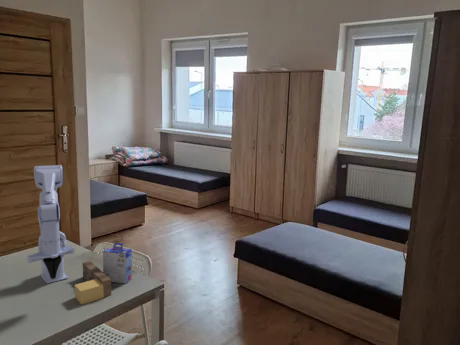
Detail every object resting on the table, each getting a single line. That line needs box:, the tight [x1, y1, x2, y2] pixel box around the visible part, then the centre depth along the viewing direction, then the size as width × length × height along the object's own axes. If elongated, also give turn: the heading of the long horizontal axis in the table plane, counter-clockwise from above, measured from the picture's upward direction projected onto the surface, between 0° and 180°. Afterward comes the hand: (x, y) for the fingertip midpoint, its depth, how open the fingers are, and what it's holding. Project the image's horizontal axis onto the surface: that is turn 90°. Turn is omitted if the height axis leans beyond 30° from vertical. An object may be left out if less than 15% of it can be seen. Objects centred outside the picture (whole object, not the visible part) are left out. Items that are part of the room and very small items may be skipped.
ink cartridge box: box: [102, 242, 133, 284], centre depth 156 cm, size 10×6×14 cm, turn 78°
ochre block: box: [74, 279, 104, 305], centre depth 143 cm, size 6×8×5 cm
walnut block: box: [82, 260, 112, 297], centre depth 152 cm, size 20×3×6 cm, turn 40°
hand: (52, 277), depth 137 cm, fingers closed
